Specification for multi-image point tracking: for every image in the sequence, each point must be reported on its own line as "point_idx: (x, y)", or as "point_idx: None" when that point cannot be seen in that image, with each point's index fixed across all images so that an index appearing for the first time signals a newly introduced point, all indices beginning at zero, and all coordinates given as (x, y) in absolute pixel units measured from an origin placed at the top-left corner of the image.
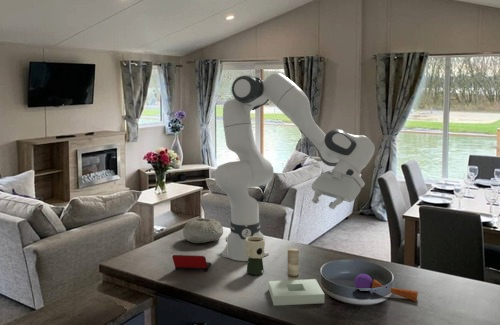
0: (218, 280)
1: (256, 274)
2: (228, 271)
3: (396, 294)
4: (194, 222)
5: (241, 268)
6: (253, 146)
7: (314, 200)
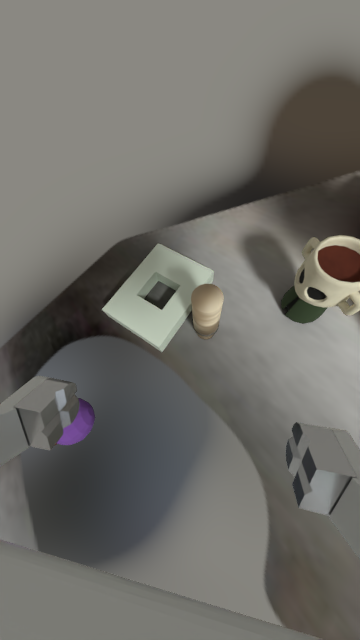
0: (302, 239)
1: (283, 297)
2: None
3: None
4: None
5: None
6: None
7: (299, 425)
